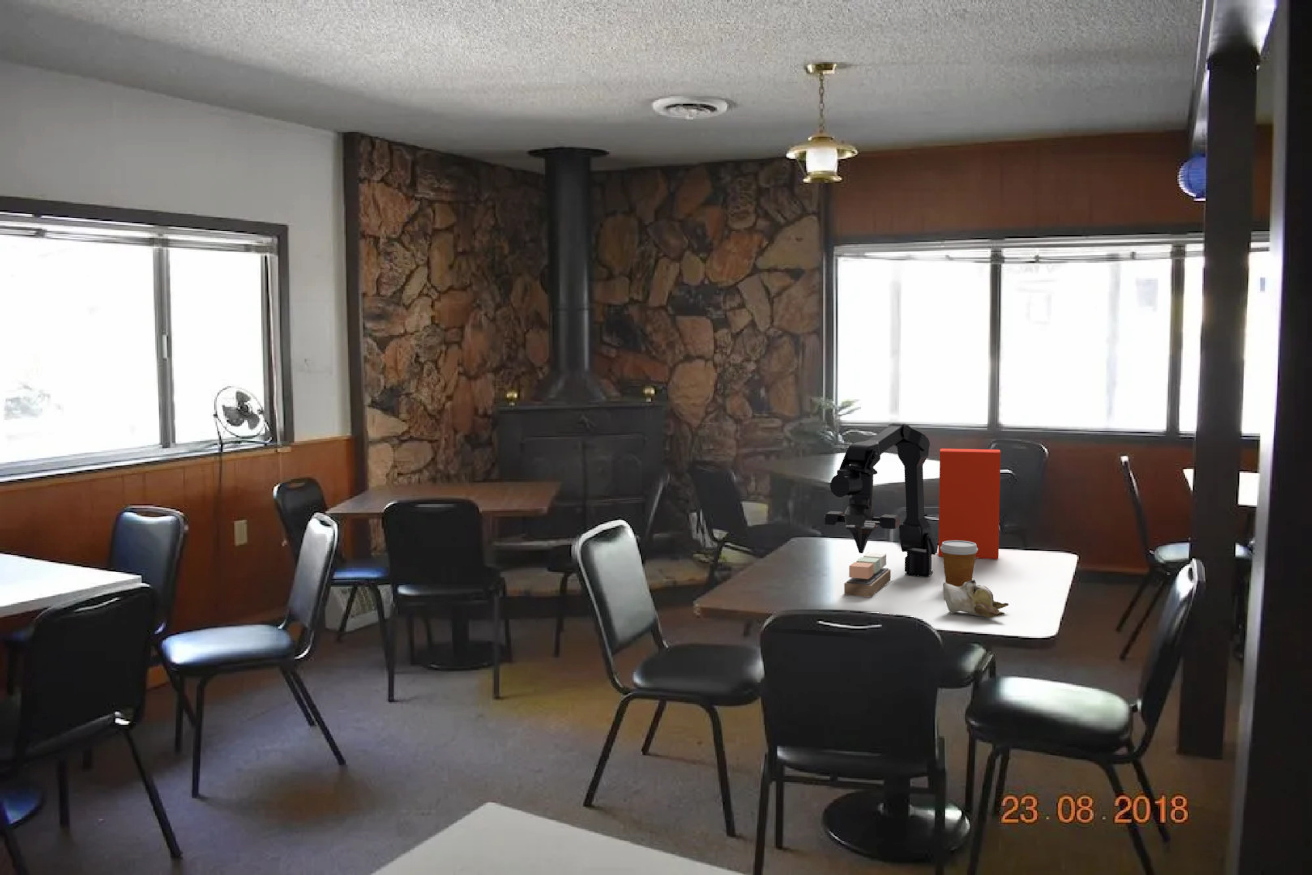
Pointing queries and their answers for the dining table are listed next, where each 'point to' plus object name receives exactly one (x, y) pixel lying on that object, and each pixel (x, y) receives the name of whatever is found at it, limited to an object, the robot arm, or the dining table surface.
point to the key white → (876, 555)
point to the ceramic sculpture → (972, 600)
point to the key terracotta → (861, 570)
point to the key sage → (873, 561)
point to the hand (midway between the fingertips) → (861, 552)
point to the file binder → (970, 499)
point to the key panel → (867, 584)
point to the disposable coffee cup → (958, 561)
